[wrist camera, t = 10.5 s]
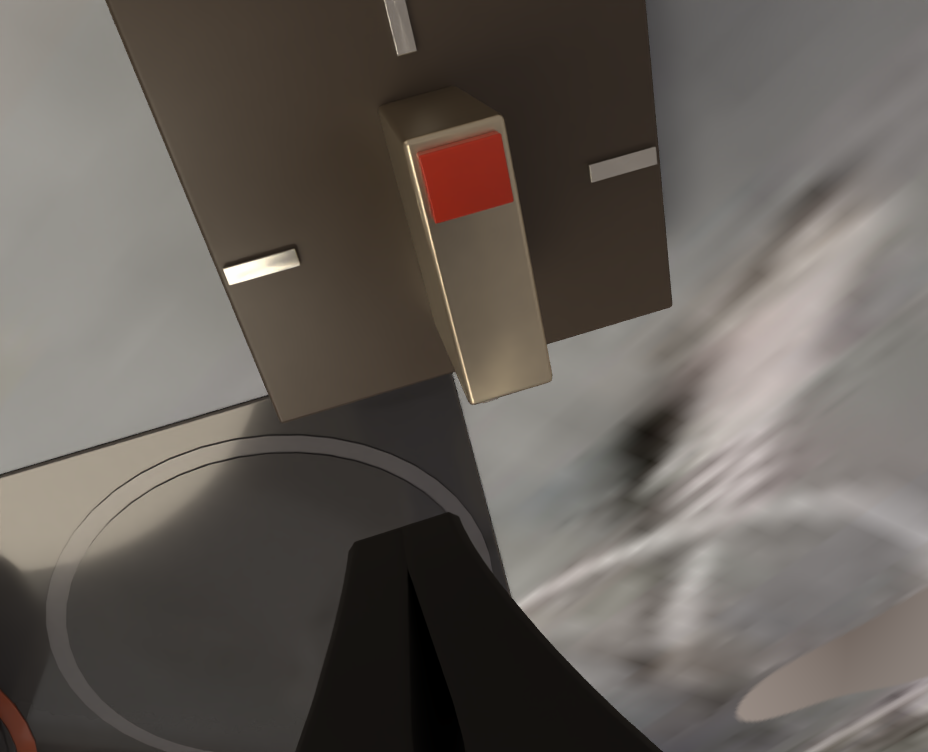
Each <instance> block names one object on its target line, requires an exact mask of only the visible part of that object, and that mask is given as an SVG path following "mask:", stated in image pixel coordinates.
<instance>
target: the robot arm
mask: <svg viewBox="0 0 928 752" xmlns="http://www.w3.org/2000/svg"><path fill="white" fill-rule="evenodd" d="M295 752H663V751H662V750H660V749H659V748H658V747H657V746H656V745H655V744H654V743H652V742H651V741H650V740H649V739H648V738H647V737H646V736H645V735H644V734H642V733H641V732H640V731H639V730H638V729H637V728H636V727H635V726H634V725H632V724H631V723H630V722H629V721H628V720H627V719H626V718H625V717H624V716H622V715H621V714H620V713H619V712H618V711H617V710H616V709H615V708H614V707H613V706H612V705H611V704H610V703H609V702H608V701H607V700H606V699H605V698H604V697H602V696H601V695H600V694H599V693H598V692H597V691H596V690H595V689H594V688H593V687H592V686H591V685H590V684H589V683H588V682H587V681H586V680H585V679H584V678H583V677H582V676H581V675H580V674H579V673H578V671H577V670H576V669H575V668H574V667H573V666H572V665H571V664H570V663H569V662H568V661H567V660H566V659H565V658H564V657H563V656H562V655H561V654H560V653H559V652H558V651H557V650H556V649H555V647H554V646H553V645H552V644H551V643H550V642H549V641H548V640H547V639H546V638H545V636H544V635H543V634H542V633H541V632H540V631H539V630H538V628H537V627H536V626H535V625H534V624H533V623H532V621H531V620H530V619H529V618H528V617H527V615H526V614H525V613H524V612H523V611H522V610H521V608H520V607H519V606H518V605H517V604H516V602H515V601H514V600H513V599H512V598H511V597H510V595H509V594H508V593H507V591H506V590H505V589H504V588H503V586H502V585H501V584H500V582H499V581H498V580H497V578H496V577H495V576H494V574H493V573H492V571H491V570H490V569H489V567H488V566H487V564H486V563H485V562H484V560H483V559H482V557H481V556H480V554H479V553H478V551H477V550H476V548H475V546H474V545H473V543H472V541H471V540H470V538H469V536H468V534H467V532H466V531H465V529H464V527H463V525H462V522H461V520H460V517H459V516H457V515H455V514H453V513H450V512H447V513H443V514H440V515H437V516H434V517H431V518H428V519H425V520H422V521H418V522H415V523H412V524H409V525H406V526H403V527H400V528H396V529H393V530H390V531H387V532H384V533H381V534H378V535H375V536H371V537H368V538H365V539H362V540H359V541H356V542H354V544H353V545H352V547H351V548H350V550H349V552H348V559H347V566H346V572H345V577H344V583H343V588H342V593H341V597H340V602H339V606H338V610H337V615H336V619H335V623H334V627H333V631H332V635H331V639H330V642H329V646H328V649H327V653H326V656H325V660H324V663H323V667H322V670H321V674H320V677H319V681H318V684H317V688H316V691H315V694H314V698H313V701H312V704H311V707H310V710H309V713H308V716H307V719H306V722H305V725H304V727H303V730H302V733H301V736H300V739H299V742H298V745H297V748H296V750H295Z"/></svg>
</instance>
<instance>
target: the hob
mask: <svg viewBox="0 0 928 752" xmlns="http://www.w3.org/2000/svg"><path fill="white" fill-rule="evenodd" d="M447 512H450V513H453V514H455V515H457V516H459V517H460V520H461V522H462V525H463V527H464V529H465V531H466V532H467V534H468V536H469V538H470V540H471V541H472V543H473V545H474V546H475V548H476V550H477V551H478V553H479V554H480V556H481V557H482V559H483V560H484V562H485V563H486V564H487V566H488V567H489V569H490V570H491V571H492V573H493V574H494V576H495V577H496V578H497V580H498V581H499V582H500V584H501V585H502V586H503V588H504V589H505V590H506V591H507V593H508V594H509V595H510V592H509V588H508V584H507V580H506V576H505V573H504V569H503V565H502V561H501V558H500V554H499V550H498V546H497V542H496V539H495V535H494V531H493V527H492V524H491V520H490V516H489V512H488V508H487V505H486V501H485V497H484V493H483V490H482V486H481V482H480V478H479V474H478V471H477V467H476V463H475V459H474V456H473V452H472V448H471V444H470V440H469V437H468V433H467V429H466V425H465V422H464V418H463V414H462V410H461V406H460V403H459V399H458V395H457V391H456V388H455V384H454V380H453V376H452V373H449V374H446V375H443V376H439V377H436V378H433V379H429V380H426V381H423V382H419V383H416V384H413V385H409V386H406V387H402V388H399V389H396V390H392V391H389V392H386V393H382V394H379V395H376V396H372V397H369V398H366V399H362V400H359V401H356V402H352V403H349V404H346V405H342V406H339V407H336V408H332V409H329V410H326V411H322V412H319V413H316V414H312V415H309V416H306V417H302V418H299V419H296V420H292V421H289V422H286V423H281V422H280V421H279V419H278V417H277V414H276V412H275V409H274V407H273V404H272V402H271V400H270V397H269V395H267V396H264V397H261V398H257V399H254V400H251V401H247V402H244V403H240V404H237V405H234V406H230V407H227V408H223V409H220V410H217V411H213V412H210V413H207V414H203V415H200V416H196V417H193V418H190V419H186V420H183V421H180V422H176V423H173V424H169V425H166V426H163V427H159V428H156V429H153V430H149V431H146V432H142V433H139V434H136V435H132V436H129V437H126V438H122V439H119V440H115V441H112V442H109V443H105V444H102V445H99V446H95V447H92V448H88V449H85V450H82V451H78V452H75V453H72V454H68V455H65V456H61V457H58V458H55V459H51V460H48V461H45V462H41V463H38V464H34V465H31V466H28V467H24V468H21V469H18V470H14V471H11V472H7V473H4V474H1V475H0V752H295V750H296V748H297V745H298V742H299V739H300V736H301V733H302V730H303V727H304V725H305V722H306V719H307V716H308V713H309V710H310V707H311V704H312V701H313V698H314V694H315V691H316V688H317V684H318V681H319V677H320V674H321V670H322V667H323V663H324V660H325V656H326V653H327V649H328V646H329V642H330V639H331V635H332V631H333V627H334V623H335V619H336V615H337V610H338V606H339V602H340V597H341V593H342V588H343V583H344V577H345V572H346V566H347V559H348V552H349V550H350V548H351V547H352V545H353V544H354V542H356V541H359V540H362V539H365V538H368V537H371V536H375V535H378V534H381V533H384V532H387V531H390V530H393V529H396V528H400V527H403V526H406V525H409V524H412V523H415V522H418V521H422V520H425V519H428V518H431V517H434V516H437V515H440V514H443V513H447ZM510 597H511V595H510Z"/></svg>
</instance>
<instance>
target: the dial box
mask: <svg viewBox="0 0 928 752" xmlns="http://www.w3.org/2000/svg"><path fill="white" fill-rule="evenodd" d="M105 1H106V3H107V6H108V8H109V11H110V13H111V15H112V18H113V20H114V23H115V25H116V27H117V30H118V32H119V35H120V37H121V40H122V42H123V44H124V47H125V49H126V52H127V54H128V56H129V59H130V61H131V64H132V66H133V69H134V71H135V73H136V76H137V78H138V81H139V83H140V85H141V88H142V90H143V93H144V95H145V98H146V100H147V102H148V105H149V107H150V110H151V112H152V114H153V117H154V119H155V122H156V124H157V127H158V129H159V131H160V134H161V136H162V139H163V141H164V143H165V146H166V148H167V151H168V153H169V156H170V158H171V160H172V163H173V165H174V168H175V170H176V172H177V175H178V177H179V180H180V182H181V185H182V187H183V189H184V192H185V194H186V197H187V199H188V201H189V204H190V206H191V209H192V211H193V214H194V216H195V218H196V221H197V223H198V226H199V228H200V230H201V233H202V235H203V238H204V240H205V243H206V245H207V247H208V250H209V252H210V255H211V257H212V259H213V262H214V264H215V267H216V269H217V272H218V274H219V276H220V279H221V281H222V284H223V286H224V288H225V291H226V293H227V296H228V298H229V301H230V303H231V305H232V308H233V310H234V313H235V315H236V317H237V320H238V322H239V325H240V327H241V330H242V332H243V334H244V337H245V339H246V342H247V344H248V346H249V349H250V351H251V354H252V356H253V359H254V361H255V363H256V366H257V368H258V371H259V373H260V375H261V378H262V380H263V383H264V385H265V388H266V390H267V392H268V395H269V397H270V400H271V402H272V404H273V407H274V409H275V412H276V414H277V417H278V419H279V421H280V422H281V423H286V422H289V421H292V420H296V419H299V418H302V417H306V416H309V415H312V414H316V413H319V412H322V411H326V410H329V409H332V408H336V407H339V406H342V405H346V404H349V403H352V402H356V401H359V400H362V399H366V398H369V397H372V396H376V395H379V394H382V393H386V392H389V391H392V390H396V389H399V388H402V387H406V386H409V385H413V384H416V383H419V382H423V381H426V380H429V379H433V378H436V377H439V376H443V375H446V374H449V373H453V372H455V369H454V367H453V365H452V362H451V360H450V358H449V355H448V353H447V351H446V348H445V346H444V344H443V341H442V339H441V337H440V334H439V332H438V330H437V327H436V325H435V322H434V318H433V315H432V311H431V307H430V303H429V300H428V296H427V292H426V288H425V285H424V281H423V277H422V273H421V270H420V266H419V262H418V258H417V255H416V251H415V247H414V244H413V240H412V236H411V232H410V229H409V225H408V221H407V217H406V214H405V210H404V206H403V202H402V199H401V195H400V191H399V187H398V184H397V180H396V176H395V173H394V169H393V165H392V161H391V158H390V154H389V150H388V146H387V143H386V139H385V135H384V131H383V128H382V124H381V120H380V116H379V113H378V109H379V107H380V106H381V105H384V104H387V103H391V102H395V101H398V100H402V99H406V98H409V97H413V96H417V95H421V94H424V93H428V92H432V91H435V90H439V89H443V88H446V87H450V86H456V87H458V88H459V89H461V90H463V91H464V92H466V93H468V94H469V95H471V96H472V97H474V98H476V99H477V100H479V101H481V102H482V103H484V104H485V105H487V106H489V107H490V108H492V109H494V110H495V111H497V112H498V113H500V114H502V116H503V117H504V119H505V125H506V130H507V135H508V141H509V146H510V151H511V157H512V162H513V167H514V173H515V178H516V183H517V189H518V194H519V200H520V205H521V210H522V216H523V221H524V226H525V232H526V237H527V242H528V248H529V253H530V258H531V264H532V269H533V274H534V280H535V285H536V290H537V296H538V301H539V306H540V312H541V317H542V323H543V328H544V333H545V339H546V344H549V343H553V342H556V341H559V340H563V339H566V338H569V337H573V336H576V335H579V334H583V333H586V332H589V331H593V330H596V329H599V328H603V327H606V326H610V325H613V324H616V323H620V322H623V321H626V320H630V319H633V318H636V317H640V316H643V315H646V314H650V313H653V312H656V311H660V310H663V309H666V308H670V307H671V306H672V295H671V283H670V272H669V261H668V250H667V238H666V227H665V216H664V205H663V193H662V182H661V171H660V160H659V148H658V137H657V126H656V115H655V103H654V92H653V81H652V70H651V58H650V47H649V36H648V25H647V14H646V2H645V0H105ZM496 399H498V398H496ZM496 399H492V400H496ZM492 400H489V401H492ZM489 401H486V402H489ZM486 402H483V403H486Z"/></svg>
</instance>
